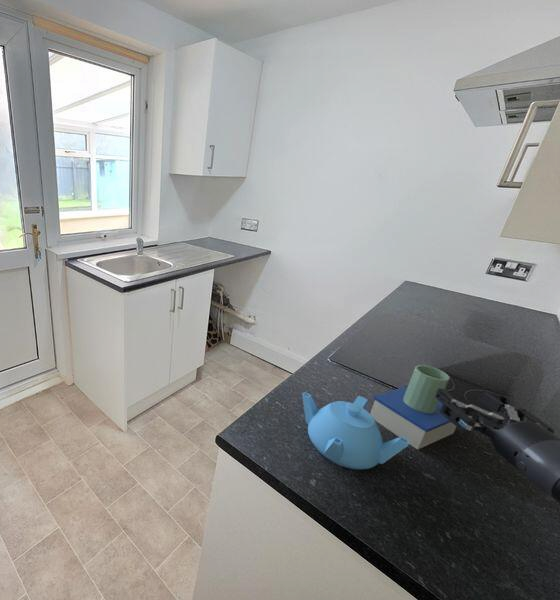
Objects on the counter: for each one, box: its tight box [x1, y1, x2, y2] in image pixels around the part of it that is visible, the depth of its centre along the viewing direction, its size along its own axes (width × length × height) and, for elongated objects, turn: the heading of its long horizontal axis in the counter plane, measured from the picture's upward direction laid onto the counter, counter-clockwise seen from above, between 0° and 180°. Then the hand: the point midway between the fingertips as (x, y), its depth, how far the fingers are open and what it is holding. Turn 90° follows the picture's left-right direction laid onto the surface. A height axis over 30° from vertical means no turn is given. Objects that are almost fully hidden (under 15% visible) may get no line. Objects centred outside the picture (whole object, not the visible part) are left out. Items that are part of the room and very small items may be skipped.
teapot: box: [301, 391, 410, 470], centre depth 65 cm, size 15×15×11 cm
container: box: [369, 385, 462, 450], centre depth 75 cm, size 16×12×6 cm
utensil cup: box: [403, 364, 451, 413], centre depth 72 cm, size 6×6×9 cm
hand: (460, 394), depth 63 cm, fingers open, 8 cm apart
